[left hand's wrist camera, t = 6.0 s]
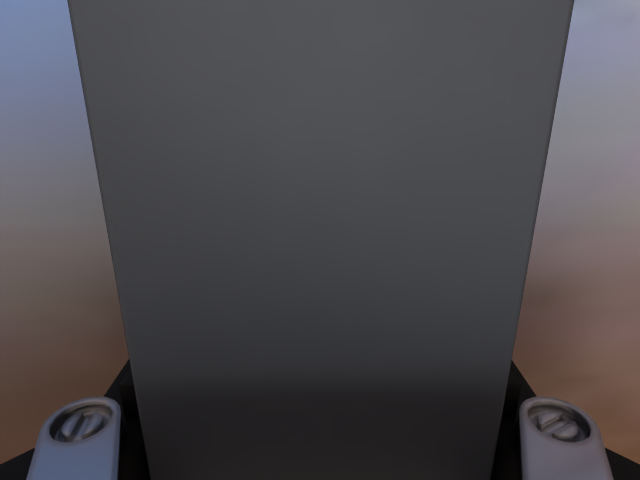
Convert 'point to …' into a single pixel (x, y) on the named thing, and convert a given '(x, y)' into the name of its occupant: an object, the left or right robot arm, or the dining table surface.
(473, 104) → the beam
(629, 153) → the dining table surface
